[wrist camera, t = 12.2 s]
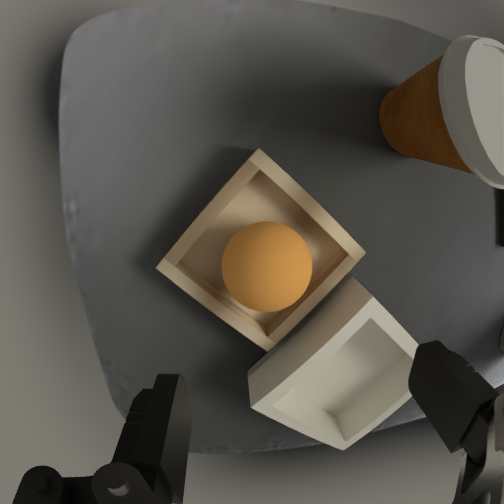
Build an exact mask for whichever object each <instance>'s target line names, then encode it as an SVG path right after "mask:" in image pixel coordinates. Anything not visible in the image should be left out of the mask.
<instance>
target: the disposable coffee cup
mask: <svg viewBox="0 0 504 504" xmlns="http://www.w3.org/2000/svg"><path fill="white" fill-rule="evenodd" d="M379 122H380V127H381V130H382V133H383V135H384V137H385V139H386V140H387V142H388V143H389V144H390V145H391V146H392V147H393V148H394V149H395V150H396V151H397V152H399V153H400V154H402V155H404V156H408V157H412V158H416V159H421V160H425V161H428V162H432V163H436V164H440V165H444V166H448V167H451V168H455V169H458V170H462V171H465V172H468V173H471V174H475V175H477V176H478V177H479V178H480V179H482V180H483V181H484V182H485V183H487V184H489V185H491V186H493V187H495V188H499V189H504V45H503V44H501V43H499V42H498V41H496V40H493V39H490V38H480V37H477V36H472V35H465V36H461V37H459V38H457V39H456V40H454V41H453V42H452V43H451V44H450V45H449V47H448V48H447V49H446V52H445V54H444V55H443V56H441V57H439V58H438V59H436V60H435V61H434V62H432V63H430V64H429V65H427V66H426V67H425V68H423V69H422V70H420V71H419V72H417V73H416V74H414V75H413V76H411V77H410V78H409V79H407V80H406V81H404V82H403V83H402V84H400V85H399V86H397V87H396V88H394V89H393V90H391V91H390V92H388V93H387V94H386V95H385V97H384V98H383V100H382V102H381V105H380V109H379Z"/></svg>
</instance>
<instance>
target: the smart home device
mask: <svg viewBox="0 0 504 504" xmlns="http://www.w3.org/2000/svg"><path fill="white" fill-rule="evenodd" d="M499 197H500V245H501V246H503V247H504V189H499Z"/></svg>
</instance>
